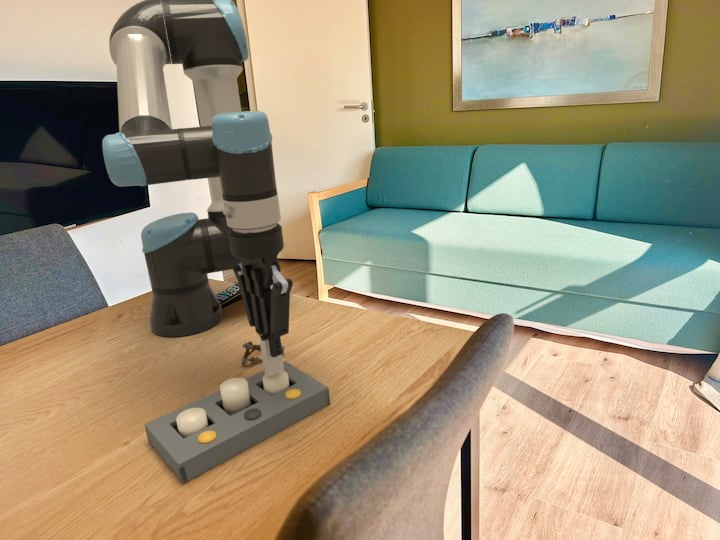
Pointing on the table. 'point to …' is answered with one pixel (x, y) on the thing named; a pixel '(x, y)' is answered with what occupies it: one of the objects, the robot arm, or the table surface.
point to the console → (235, 423)
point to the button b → (235, 395)
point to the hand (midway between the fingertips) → (274, 371)
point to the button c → (275, 382)
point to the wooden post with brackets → (249, 347)
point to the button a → (191, 421)
